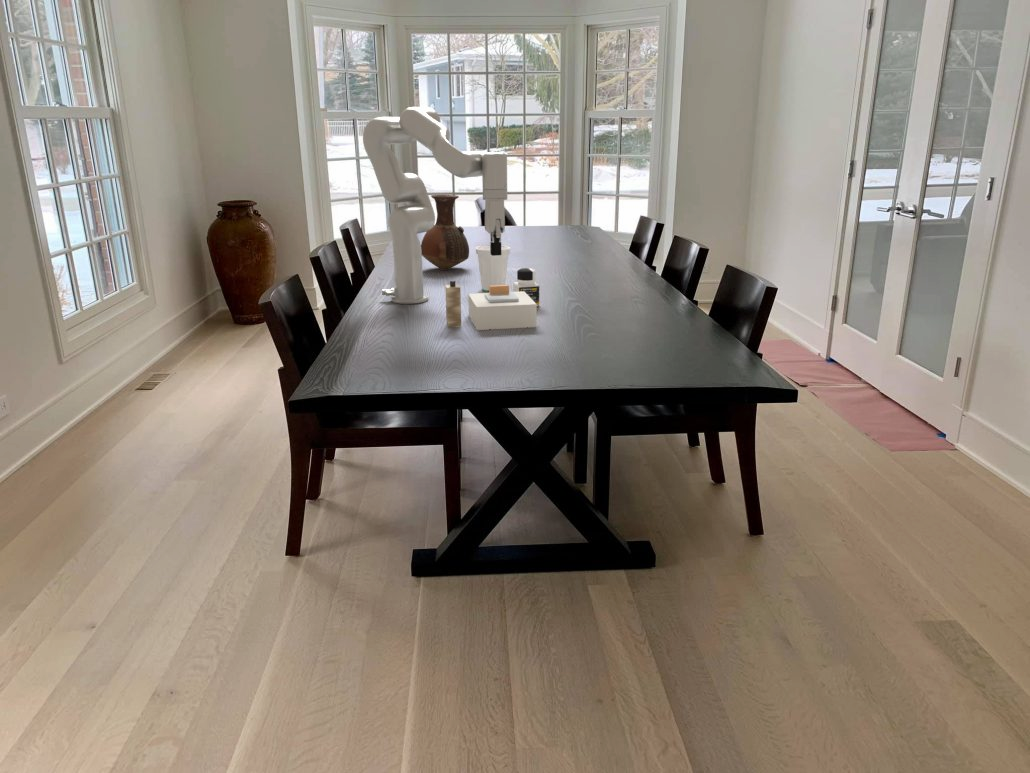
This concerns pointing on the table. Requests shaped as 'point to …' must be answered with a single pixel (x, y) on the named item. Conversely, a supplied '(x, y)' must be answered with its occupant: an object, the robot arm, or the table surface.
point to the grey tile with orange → (500, 294)
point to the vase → (445, 237)
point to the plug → (453, 305)
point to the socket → (502, 312)
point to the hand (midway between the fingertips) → (496, 254)
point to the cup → (492, 266)
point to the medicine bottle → (527, 284)
